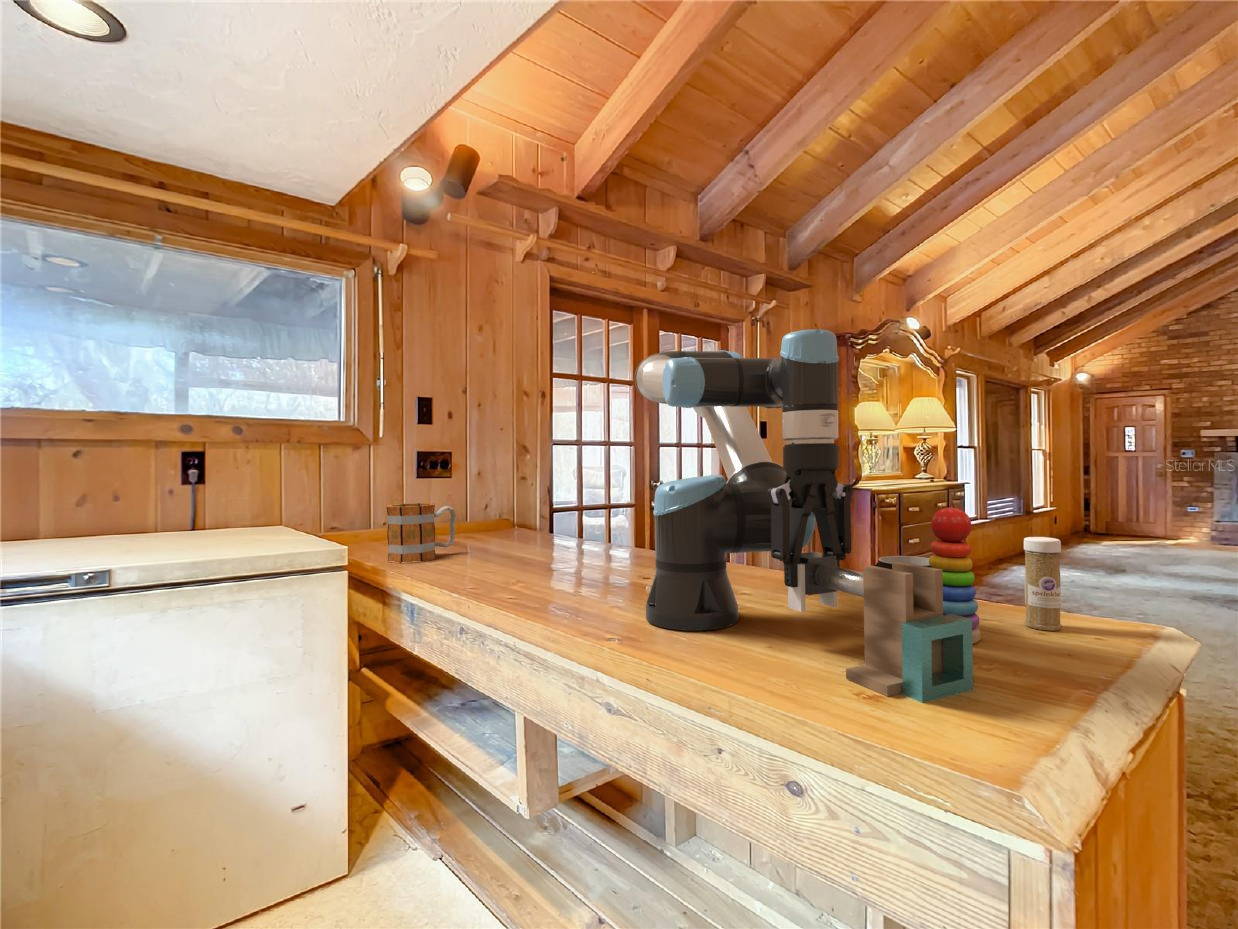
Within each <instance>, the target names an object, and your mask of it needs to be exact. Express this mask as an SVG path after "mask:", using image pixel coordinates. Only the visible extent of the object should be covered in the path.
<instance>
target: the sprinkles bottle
mask: <svg viewBox="0 0 1238 929" xmlns="http://www.w3.org/2000/svg"><path fill="white" fill-rule="evenodd" d="M1023 550H1024V554H1025V555H1024V558H1025V559H1024V560H1025V564H1024V565H1025V566H1024V568H1025V569H1024V604H1025V621H1024V624H1025V626H1027V627H1028V628H1031V629H1034V630H1035V629H1036V630H1040V631H1051V632H1052V631H1059V630H1062V624H1061V606H1062V603H1061V600H1062V599H1061V597H1062V594H1061V569H1060V567H1061V566H1060V564H1061V563H1060V559H1061V558H1060V555H1061V552H1062V541H1061V540H1060V539H1059V538H1054V537H1047V536H1028V537H1024V538H1023Z"/></svg>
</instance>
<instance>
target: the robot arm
mask: <svg viewBox="0 0 1238 929" xmlns="http://www.w3.org/2000/svg"><path fill="white" fill-rule="evenodd" d="M837 341H838V340H837V336H836V334H835V333H834V332H832V331H830V330H827V329H804V330H803V329H802V330H797V331H796V330H795V331H792V332H788V333H787V334H785V335H784V336H783V337H782V340H781V347H780V348H781V349H780V352H779V353H780V354H779V355H780V356H778V357H743V356H742V355H740V354H739V353H738V352H736V351H727V350H722V349H721V350H715V351H714V350H713V351H712V350H711V351H708V350H703V351H702V350H698V351H697V350H696V351H695V350H693V351H692V350H667V351H662V352H658V353H654V354H651V355H649V356H647V357H645V358H644V359H642V360H641V361H640V363H639V364H638V366H637V367H636V369H635V372H634V385H635V388H636V389H637V392H638V393H639V394H640V395H641V397H643V398H644V399H646V400H648V401H650V402H654V403H659V404H663V405H667V406H669V407H674V408H675V407H676V408H684V409H691V408H692V409H693V410H694V412H695V413H696V414H697V416H700V417H701V418H703V419H705V422H706V425H707V428H708V430H709V433H710V435H711V438H712V441H713V444H714V446H715V448H716V451H717V454H718V456H719V459H720V462H721V464H722V467H723V470H724V472H725V475H726V477H727V481H726V478H725V476H724V475H722V474H714V475H713V474H710V475H705V476H703V475H702V476H693V477H688V478H681V479H674V480H671V481H668V482H667V481H666V482H664V483H663V482H662V483H661V484H660V485H659V486H657V488H656V490H655V492H654V501H653V502H654V504H653V506H654V507H653V515H654V541H655V542H654V547H655V548H654V551H655V553H654V554H655V572H654V576H653V580H652V584H651V588H650V590H649V594H648V597H647V600H646V603H645V618H646V621H647V622H648V623H650V624H651V625H654V626H656V627H661V628H664V629H668V630H669V629H670V630H677V631H694V632H695V631H698V632H699V631H711V630H712V631H713V630H718V629H724V628H727V627H731V626H733V625H735V624H736V623H737V622H739V605H738V602H737V599H736V596H735V593H734V590H733V587H732V584H731V581H730V578H729V575H728V570H727V556H728V555H727V554H741V553H745V554H746V553H761V552H762V553H765V552H770V555H771V558H773V559H774V560H778V561H780V562H782V563H783V579H784V580H783V581H784V585H785V586H786V587H787V608H788V609H791V610H792V611H793V610H794V611H797V612H800V613H803V612H804V613H805V612H806V594H805V564H801V563H799V562H800V558H801V553H803V548H805V547H806V546H807V545H808V544H809V543H810V541H811V539H812V537H813V534H814V532H815V528H816V527H815V526H817V532H818V535H819V539H820V544H821V549H822V553H825V554H830V555H835V556H836V567H839V568H841V567H840V566H841V565H840V561H844V560H846V558H847V555H850V554H851V552H852V521H851V520H852V519H851V517H852V516H851V515H852V514H851V512H852V511H851V499H852V497H853V492H854V488H853V485H850V484H842V483H840V482H839V481H838V478H837V475H836V470H838V469H839V467H840V445H838V443H835V440H837V439H839V437H840V436H839V361H840V356H838V342H837ZM749 407H759V408H760V407H761V408H763V409H780V408H782V409H781V410H782V414H781V415H782V417H781V418H782V420H781V422H782V428H781V429H782V440H783V441H786V444H784V446H783V447H782V458H783V459H782V463H783V464H782V465H781V464H780V463H777V462H776V461H773V460H772V458H771V456H770V453H769V451H768V450H767V447H766V446H765V442H764V440H763V439H762V437H761V435H760V433H759V430H758V429H757V426H756V424H755V421H754V420H753V418H752V416H751V414H750V411H749V410H748V408H749ZM819 604H821V605H825V606H828V607H831V608H836V607H838V590H837V591H836V592H829V593H822V594H819Z"/></svg>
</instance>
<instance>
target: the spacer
mask: <svg viewBox="0 0 1238 929" xmlns="http://www.w3.org/2000/svg"><path fill="white" fill-rule="evenodd" d="M941 638H943V672H940V673H936V674H932V648H931V640H936V639H941ZM973 659H974V658H973V644H972V619H970V618H966V617H962V616H959V615H955V614H948V615H942V616H936V617H931V618H925V619H920V620H914V621H909V622H903V623H902V676H903V693H902V695H903V696H905V697H907V698H909V699H912V700H914V701H917V702H920V703H922V704H924V703H928V702H932V701H935V700H939V699H943V698H947V697H948V698H949V697H950V696H954V695H955V696H956V695H957V694H958V695H959V694H963V693H966V692H970V691H973V690H974V682H973V681H974V671H973V669H974V668H973V667H974V666H973V664H974V663H973Z"/></svg>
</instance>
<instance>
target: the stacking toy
mask: <svg viewBox="0 0 1238 929" xmlns="http://www.w3.org/2000/svg"><path fill="white" fill-rule="evenodd" d="M931 518H932V519H931V522H930V524H931V525H930V526H931V530H932V533H933V534H934V536H935V537H936V538H938V539H936V540H933V541H932V542H931V544H930V550H931V552H932V553H933V554H932V555H931V556H929V564H930V566H931V567H933V568H936V569H942V572H943V615H948V614H955V615H959V616H962V617H966V618H970V619H972V645H973V644H976V643H978V642H979V641H980V640H981V638H982V631H981V630H980V628H979V627H978V626H979V624H980V618H979V615H978V614H977V613H976V612H977V611H978V610H979V603H978V602H977V600H975V599H974V598H975V596H976V595H977V590H976V588H975V587H974V586H973V584H974V582H975V578H976V577H975V574H974V572H973V571H971V570H972V569H973V561H972V559H970V558H969V557H968V556H969V555H970V554H971V553H972V548H971V545H970V544H969V543H968V542H966V541H964V540H965V539H967V538H968V537H969V536H970V533H971V531H972V521H971V518H970V516H969V515H968V514H967V513H966V512H965V511H964V510H961V509H960V508H957V507H945V508H941V509H939V510H938V511H936V512H935V513H934V514H933V516H932V517H931Z"/></svg>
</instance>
